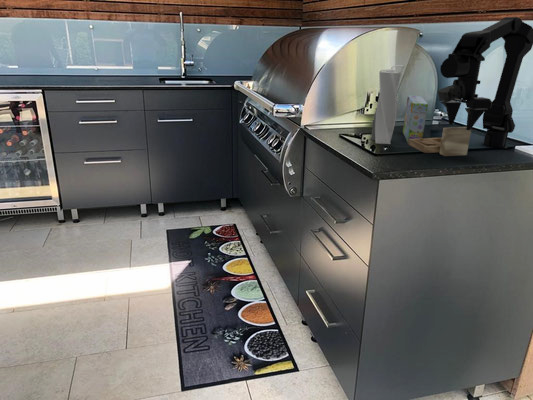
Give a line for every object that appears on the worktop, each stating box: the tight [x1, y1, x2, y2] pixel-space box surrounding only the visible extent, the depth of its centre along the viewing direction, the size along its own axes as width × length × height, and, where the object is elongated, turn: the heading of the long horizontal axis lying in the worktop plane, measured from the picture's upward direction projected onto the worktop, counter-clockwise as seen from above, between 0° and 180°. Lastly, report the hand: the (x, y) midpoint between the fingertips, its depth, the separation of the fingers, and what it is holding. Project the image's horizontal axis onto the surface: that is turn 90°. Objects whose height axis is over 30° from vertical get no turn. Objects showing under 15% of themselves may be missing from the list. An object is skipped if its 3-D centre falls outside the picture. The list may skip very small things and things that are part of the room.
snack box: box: [402, 95, 429, 143], centre depth 163 cm, size 21×6×15 cm, turn 168°
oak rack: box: [407, 137, 442, 154], centre depth 150 cm, size 13×11×3 cm
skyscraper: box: [370, 64, 405, 145], centre depth 153 cm, size 8×8×28 cm
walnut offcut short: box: [418, 140, 434, 146], centre depth 148 cm, size 3×5×1 cm, turn 18°
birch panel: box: [438, 126, 472, 157], centre depth 140 cm, size 3×8×9 cm, turn 102°
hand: (459, 127), depth 139 cm, fingers open, 9 cm apart
